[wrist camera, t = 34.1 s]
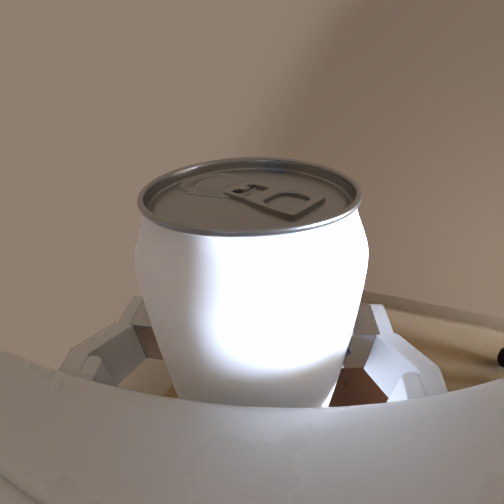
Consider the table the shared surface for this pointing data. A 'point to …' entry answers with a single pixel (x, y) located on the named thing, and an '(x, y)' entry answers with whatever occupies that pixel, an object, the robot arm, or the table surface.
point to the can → (252, 278)
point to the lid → (356, 389)
